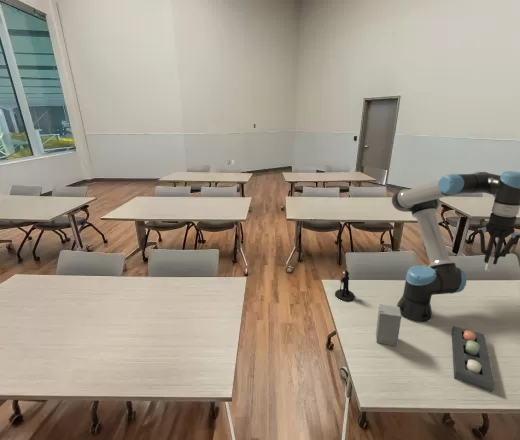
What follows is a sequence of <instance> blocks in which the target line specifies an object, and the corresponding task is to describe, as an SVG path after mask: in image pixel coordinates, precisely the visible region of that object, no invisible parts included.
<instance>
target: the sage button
mask: <svg viewBox="0 0 520 440" xmlns="http://www.w3.org/2000/svg"><path fill="white" fill-rule="evenodd" d="M479 348H480V345H479V344H478V343H477V342H475V341H471V340H469V341H467V344H466V348H465V351H466V352H467V353H469V354H471V355H477V354H478V351H479Z"/></svg>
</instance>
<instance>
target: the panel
mask: <svg viewBox="0 0 520 440" xmlns="http://www.w3.org/2000/svg"><path fill="white" fill-rule="evenodd" d="M466 330H469V331H472V332H474V333H475V334H476V338H475V342H477V343H478V344H479V345H480V348H479V351H478V354H477V355H471V354H469V353H467V352H466V351H465V348H466V344H467V341H469V340H466V339H463V335H464V332H465V331H466ZM451 345H452V346H451V348H452V363H453V379H456V380H458V381H460V382H463V383H466V384H468V385H471V386H473V387H477V388H479V389H482V390H485V391H488V392H490V393H492V392H493V391H494V388H495V379H494V376H493V371H492V370H493V369H492V365H491V360H490V356H489V351H488V345H487V341H486V337H485V334H484V333H480V332H478V331H474V330H471V329H467V328H463V327H460V326H455V325H452V328H451ZM470 359H472V360H475V361H477V362H479V363H480V364H481V366H482V367H481V370H480V373H479V374H477V373H474V372H471V371H469V370H466V366H467V363H468V360H470Z"/></svg>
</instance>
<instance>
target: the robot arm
mask: <svg viewBox="0 0 520 440" xmlns="http://www.w3.org/2000/svg"><path fill="white" fill-rule="evenodd" d="M481 193H482V194H484V193H485V194H488V195H492V196H494V200H493V204H492V207H491V208H492V209H491V213H490V215H489V219H488V223H486V225H485V226H484V227H478V228H477V232H478V233H479V241H480V252H481V254H484V259H483V260H484V261H483V262H484V263H485V264H486V265H485V267H484V270H485V272H488V273H491V272H492V268H493V266H494V265H497V263H498V260H499V258H501V257H503V258H505V257H506V256H507V254H508V253H509V252H510V250H511V248H512V247H513V246H514V245H515V243H516V241H518V240H520V233H519V232H516V231H515V225H516V221H517V219H518V218H517V216H518V215H519V211H520V171H513V170H512V171H510V170H509V171H508V170H507V171H506V170H505V171H503V172H502V173H501V174H500V175H499V174H495V173H489V172H487V171H475V172H473V173H460V174H459V173H458V174H457V173H451V174H445V175H444V176H442V177H441V178H440V179H438V180H436V181H435V180H434V181H431V182H429V183H426V184H423V185H419V186H416V187H413V188H411V189H409V188H404V189H401V190H398V191H396V192H395V193H393V195H392V198H391V204H392V206H393V208H394V209H395V210H397V211H399V212H404V213H405V212H406V213H407V212H409V213H410V212H411V215H412V218H415V219H416V220H417V224H418V228H419V231H420V234H421V238H422V240H423V244H424V248H425V250H426V253H427V258H428V260H429V265H414V266H411V267H410V268H409V269H408V270H407V271H406V272H407V273H406V275H405V283H404V287H403V288H404V289H403V292H402V294H403V295H401V297H400V299H399V300H398V301H397V304H396V307H400V311H401V316H402V317H403V318H404V319H407V320H410V321H413V322H418V323H426V322H429V321H430V320H432V316H433V310H432V305H431V299H432V296H434V295H446V294H447V295H448V294H449V295H450V294H457V293H460V292H463V291H464V289H465V287H466V285H467V274H466V273H465V272H464V271H463V270H462V269H461V268H459V267H457V264H456V263H455V262H454V261H452V260H451V258H450V256H449V252H448V249H447V247H446V243H445V240H444V237H443V234H442V232H441V228H440V224H439V221H438V218H437V216H436V214H437V212H438V208H439V207H440V202H441V199H442V198H447V197H451V196H456V195H460V194H464V195H465V194H481ZM486 231H487V232H488V234H489V241H488V244H487V247H486V243H485V242H486V239H485V237H486V236H485V234H486V233H487V232H486ZM509 236H510V238H509V239H508V241H507V242H506V244H505V245H504V246H503V244H504V241H505V239H506V238H507V237H509ZM496 239H497V241H496ZM495 241H496V245H495V248H494V244H495ZM493 248H494V253H493V254H492V252H493Z"/></svg>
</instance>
